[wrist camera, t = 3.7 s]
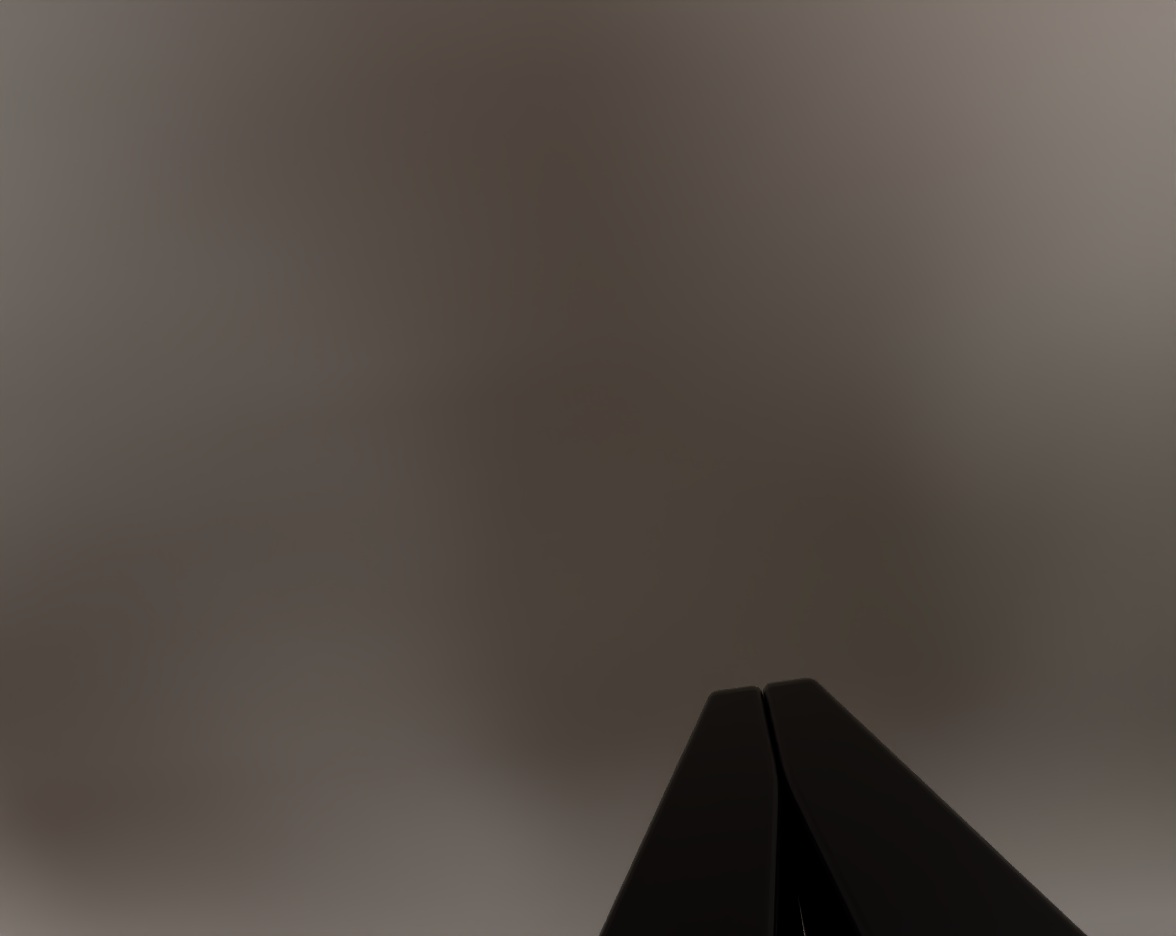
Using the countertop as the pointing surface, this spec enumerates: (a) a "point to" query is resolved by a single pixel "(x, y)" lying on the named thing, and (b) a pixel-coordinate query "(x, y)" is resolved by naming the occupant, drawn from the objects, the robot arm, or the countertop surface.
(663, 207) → the countertop surface
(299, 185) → the countertop surface
